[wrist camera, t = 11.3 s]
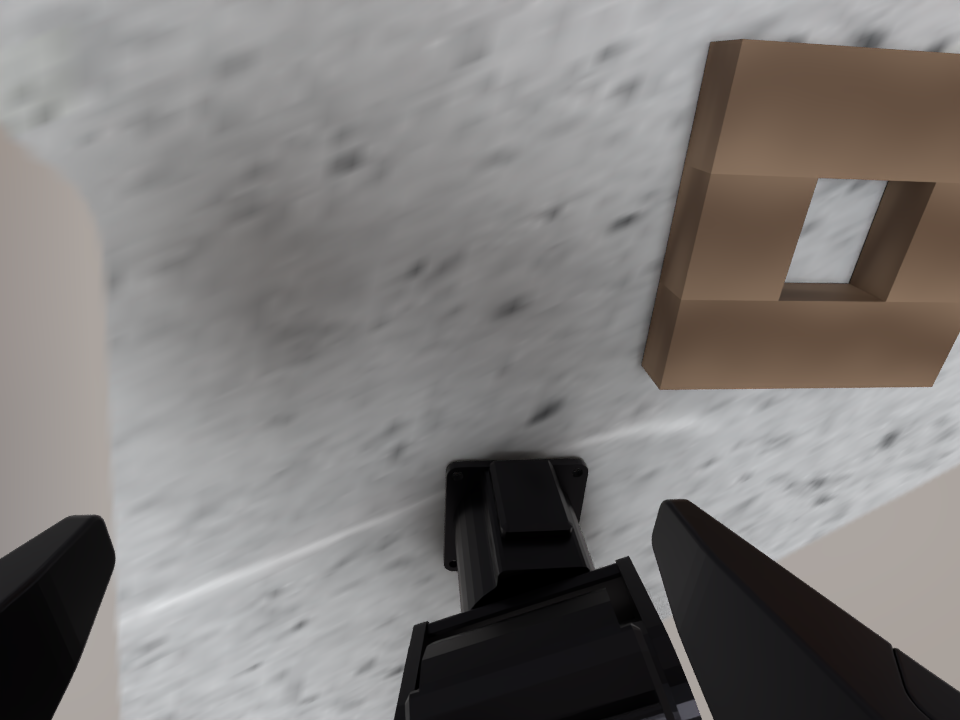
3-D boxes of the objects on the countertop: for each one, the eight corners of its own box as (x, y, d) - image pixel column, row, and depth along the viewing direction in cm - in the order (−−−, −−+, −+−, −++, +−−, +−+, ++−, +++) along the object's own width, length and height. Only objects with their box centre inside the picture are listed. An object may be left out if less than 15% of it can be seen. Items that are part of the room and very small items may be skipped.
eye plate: (895, 364, 25) (932, 386, 23) (641, 365, 23) (659, 389, 22) (1032, 63, 19) (1095, 63, 18) (710, 41, 18) (742, 39, 16)
